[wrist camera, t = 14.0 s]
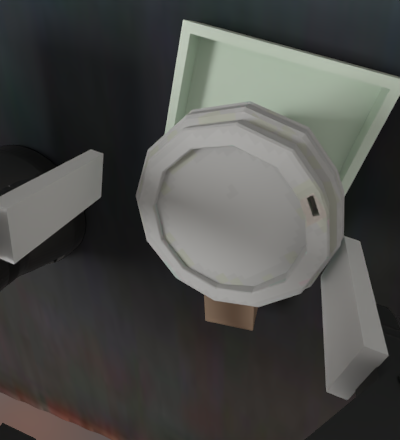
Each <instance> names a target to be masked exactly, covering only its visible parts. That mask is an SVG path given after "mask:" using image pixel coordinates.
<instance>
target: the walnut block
mask: <svg viewBox="0 0 400 440" xmlns="http://www.w3.org/2000/svg"><path fill="white" fill-rule="evenodd" d="M204 302H205V321H209V322H214V323H219V324H223V325H228V326H233V327H238V328H242V329H247V330H252V331H253V327H254V323H255V318H256V313H257V309H258V307H254V306H247V305H240V304H234V303H227V302H220V301H214V300H212V299H211V298H209V297H207V296H206V295H204Z"/></svg>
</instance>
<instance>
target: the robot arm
mask: <svg viewBox="0 0 400 440" xmlns="http://www.w3.org/2000/svg"><path fill="white" fill-rule="evenodd" d="M102 171H103V153H100V152H97V151H94V150H91V149H90V150H89V151H87V152H85V153H83V154H81V155H79V156H77V157H75V158H73V159H71V160H69V161H67V162H65V163H63V164H62V165H60V166H58V167H57V166H55V165H54V164H53V163H52V162H51V161H50V160H48V159H47V158H45V157H44V156H42V155H41V154H39V153H37V152H35V151H33V150H31V149H28V148H25V147H22V146H16V145H7V146H2V147H0V291H1V290H2V289H3V288H5V287H6V286H7V285H8V284H10V283H11V282H12V281H13V280H15V279H16V278H17V277H19V276H21V275H23V274H26V273H28V272H31V271H33V270H35V269H37V268H39V267H41V266H44V265H46V264H51V263H55V262H57V261H60V260H62V259H63V258H65V257H66V256H67V255H69V254H70V253H71V252H72V251H73V250H74V249H76V248H77V247H78V246H79V244H80V243H81V241H82V239H83V237H84V234H85V227H86V221H85V214H84V210H85V209H86V208H88V207H89V206H90V205H91V204H93V203H94V202H95V201H97V200H98V199H99V198H101V189H102ZM321 293H322V314H323V334H324V354H325V375H326V392H328V393H331V394H333V395H336V396H338V397H341V398H343V399H346V400H348V399H349V398H350V397H351V396H352V395H353V394H354V393H355V392H356V398H354V399H353V400H352V401H351V402H350V403H348V404H347V405H346V406H345V407H344V408H342V409H341V410H340V411H339V412H338V413H336V414H335V415H334V416H333V417H332V418H330V419H329V420H328V421H327V422H326V423H324V424H323V425H322V426H321V427H320V428H318V429H317V430H316V431H315V432H314V433H312V434H311V435H310V436H309V437H308V438H306V439H305V440H400V332H399V327H398V324H397V320H396V318H395V317H394V316H393V314H392V313H391V311H390V310H389V309H388V308H387V307H384V306H381V305H378V304H376V303H375V299H374V295H373V291H372V287H371V283H370V279H369V275H368V271H367V267H366V263H365V259H364V255H363V251H362V247H361V243H360V241H357V240H355V239H352V238H349V237H346V236H344V238H343V239H342V241H341V246H340V247H339V248H338V250H337V251H336V253H335V254H334V255H333V257H332V258H331V260H330V261H329V263H328V265H327V267H326V268H325V270H324V272H323V273H322V275H321ZM0 440H36V439H35V438H33V437H31V436H29V435H27V434H25V433H23V432H21V431H19V430H16V429H14V428H12V427H10V426H8V425H6V424H4V423H2V425H1V426H0Z"/></svg>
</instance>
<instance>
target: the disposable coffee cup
mask: <svg viewBox="0 0 400 440" xmlns="http://www.w3.org/2000/svg"><path fill="white" fill-rule="evenodd" d="M136 199H137V203H138V207H139V211H140V215H141V219H142V223H143V227H144V231H145V235H146V239H147V241H148V243H149V244H150V245H151V246H152V248H153V249H154V250H155V252H156V253H157V254H158V255H159V257H160V258H161V259H162V261H163V262H164V263H165V264H166V266H167V267H168V268H169V270H170V271H171V272H172V274H173V275H174V276H175V277H176V278H177V279H179V280H180V281H182V282H184V283H185V284H187V285H189V286H191V287H192V288H194V289H196V290H197V291H199V292H201V293H202V294H204V295H206V296H207V297H209V298H211V299H212V300H214V301H220V302H227V303H234V304H240V305H247V306H254V307H261V306H264V305H267V304H270V303H273V302H276V301H280V300H283V299H286V298H289V297H292V296H295V295H298V294H301V293H302V292H303V290H304V289H306V288H309V287H311V285H312V284H313V283H314V281H315V280H316V278H317V277H318V276H319V274H320V273H321V272H322V270H323V269H324V268H325V266H326V265H327V263H328V262H329V261H330V259H331V258H332V257H333V255H334V254H335V253H336V251H337V250H338V248H339V247H340V246H341V241H342V239H343V238H344V189H343V186H342V183H341V180H340V176H339V173H338V170H337V168H336V167H335V165H334V164H333V162H332V161H331V159H330V158H329V156H328V155H327V153H326V152H325V150H324V149H323V147H322V146H321V144H320V143H319V141H318V140H317V138H316V137H315V135H314V134H313V132H312V131H311V129H310V128H309V127H307V126H305V125H303V124H300V123H298V122H296V121H294V120H291V119H289V118H287V117H285V116H282V115H280V114H278V113H276V112H273V111H271V110H269V109H267V108H264V107H262V106H260V105H258V104H255V103H253V102H251V101H248V102H241V103H234V104H227V105H221V106H214V107H207V108H201V109H194V110H191V111H190V112H189V113H188V114H187V115H186V116H185V117H183V118H182V119H181V120H180V121H179V122H178V123H177V124H176V125H175V126H173V127H172V128H171V129H170V130H169V131H168V132H167V133H166V134H165V135H163V136H162V137H161V138H160V139H159V140H158V141H157V142H156V143H155V144H154V145H153V146H151V147H150V148H149V149H148V151H147V155H146V158H145V162H144V166H143V170H142V174H141V177H140V181H139V185H138V189H137V192H136Z"/></svg>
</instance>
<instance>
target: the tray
mask: <svg viewBox="0 0 400 440" xmlns="http://www.w3.org/2000/svg"><path fill="white" fill-rule="evenodd" d="M399 96H400V77H398V76H395V75H391V74H388V73H384V72H380V71H377V70H373V69H369V68H366V67H362V66H358V65H355V64H351V63H347V62H344V61H340V60H336V59H333V58H329V57H325V56H322V55H318V54H314V53H311V52H307V51H303V50H299V49H296V48H292V47H288V46H285V45H281V44H277V43H274V42H270V41H266V40H263V39H259V38H255V37H252V36H248V35H244V34H241V33H237V32H233V31H230V30H226V29H222V28H219V27H215V26H211V25H208V24H204V23H200V22H197V21H189V20H183V23H182V29H181V35H180V42H179V48H178V54H177V60H176V67H175V73H174V79H173V85H172V91H171V98H170V104H169V110H168V116H167V123H166V129H165V134H166V133H167V132H168V131H169V130H170V129H171V128H172V127H173V126H175V125H176V124H177V123H178V122H179V121H180V120H181V119H182V118H183V117H185V116H186V115H187V114H188V113H189V112H190V111H191V110H194V109H201V108H207V107H214V106H221V105H227V104H234V103H241V102H248V101H251V102H253V103H255V104H258V105H260V106H262V107H264V108H267V109H269V110H271V111H273V112H276V113H278V114H280V115H282V116H285V117H287V118H289V119H291V120H294V121H296V122H298V123H300V124H303V125H305V126H307V127H309V128H310V129H311V131H312V132H313V134H314V135H315V137H316V138H317V140H318V141H319V143H320V144H321V146H322V147H323V149H324V150H325V152H326V153H327V155H328V156H329V158H330V159H331V161H332V162H333V164H334V165H335V167H336V168H337V170H338V173H339V176H340V180H341V183H342V186H343V189H344V197H345V195H346V193H347V191H348V189H349V188H350V186H351V184H352V182H353V180H354V178H355V177H356V175H357V173H358V171H359V169H360V167H361V166H362V164H363V162H364V160H365V158H366V156H367V154H368V153H369V151H370V149H371V147H372V145H373V143H374V142H375V140H376V138H377V136H378V134H379V132H380V131H381V129H382V127H383V125H384V123H385V121H386V120H387V118H388V116H389V114H390V112H391V110H392V108H393V107H394V105H395V103H396V101H397V99H398V97H399Z"/></svg>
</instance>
